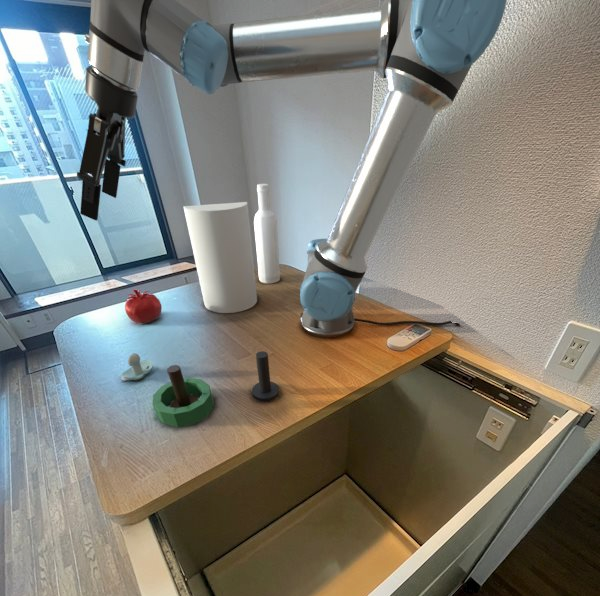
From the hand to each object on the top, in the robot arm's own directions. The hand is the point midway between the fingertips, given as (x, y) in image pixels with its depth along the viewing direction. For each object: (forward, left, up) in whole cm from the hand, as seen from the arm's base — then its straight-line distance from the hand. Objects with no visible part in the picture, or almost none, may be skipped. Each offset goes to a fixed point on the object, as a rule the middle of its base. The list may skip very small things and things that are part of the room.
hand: (99, 205), depth 67 cm
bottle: (-40, -35, -33) cm, 62 cm away
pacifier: (+2, +15, -33) cm, 36 cm away
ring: (-9, +30, -33) cm, 45 cm away
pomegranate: (+2, -15, -33) cm, 36 cm away
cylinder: (-24, -20, -33) cm, 45 cm away
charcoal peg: (-26, +30, -32) cm, 52 cm away
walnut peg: (-9, +30, -33) cm, 45 cm away
